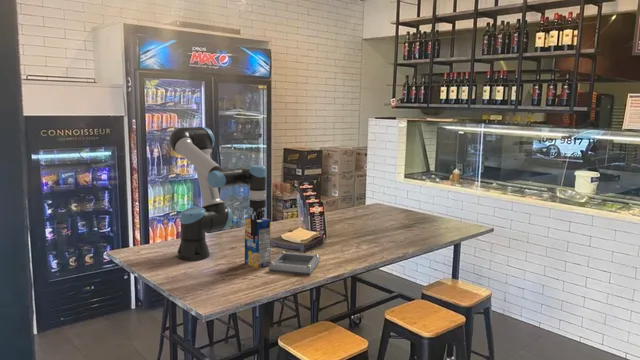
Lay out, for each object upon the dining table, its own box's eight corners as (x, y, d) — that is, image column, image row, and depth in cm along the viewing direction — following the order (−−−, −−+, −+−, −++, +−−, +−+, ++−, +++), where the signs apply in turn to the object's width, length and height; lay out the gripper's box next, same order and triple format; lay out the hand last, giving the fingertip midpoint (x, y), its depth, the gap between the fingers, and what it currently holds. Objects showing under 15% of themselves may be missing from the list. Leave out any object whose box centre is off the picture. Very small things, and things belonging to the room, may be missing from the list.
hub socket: (269, 271, 220) (269, 262, 220) (281, 258, 239) (281, 250, 238) (310, 275, 216) (310, 266, 216) (319, 262, 235) (319, 254, 234)
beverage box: (258, 268, 223) (258, 221, 220) (244, 263, 231) (244, 217, 228) (270, 265, 228) (270, 219, 225) (256, 260, 236) (256, 215, 233)
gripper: (258, 202, 216) (259, 254, 219) (271, 196, 233) (271, 243, 236) (242, 202, 217) (243, 252, 220) (256, 195, 234) (256, 242, 238)
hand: (257, 247), depth 228 cm, fingers open, 5 cm apart
